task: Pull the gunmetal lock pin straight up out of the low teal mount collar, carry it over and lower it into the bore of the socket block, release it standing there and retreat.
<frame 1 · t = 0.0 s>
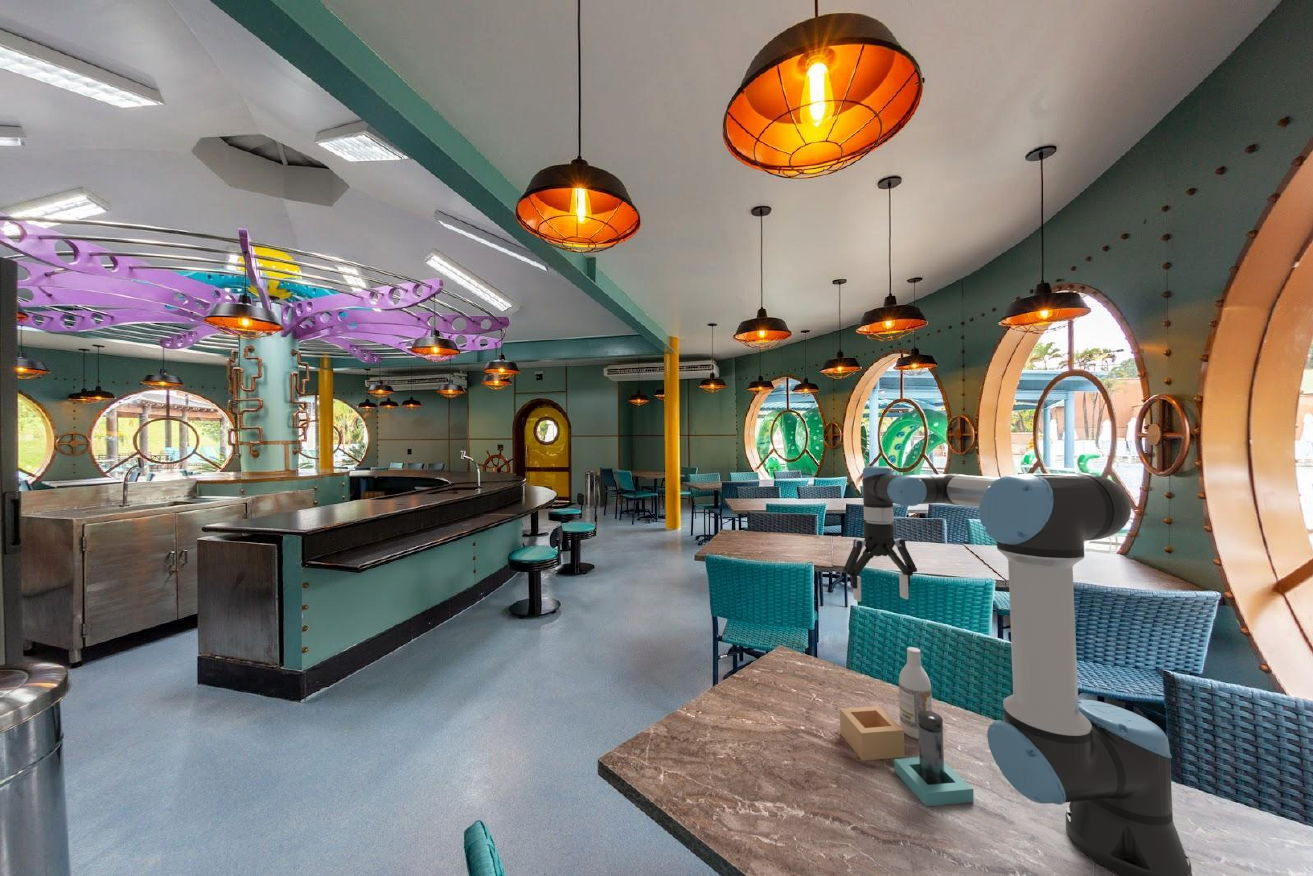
hand: (880, 599, 128), 28 cm above the table, fingers open, 13 cm apart
body lotion: (916, 732, 113), on the table
mount: (932, 785, 95), on the table
socket: (871, 745, 109), on the table
pin: (931, 751, 95), in the mount
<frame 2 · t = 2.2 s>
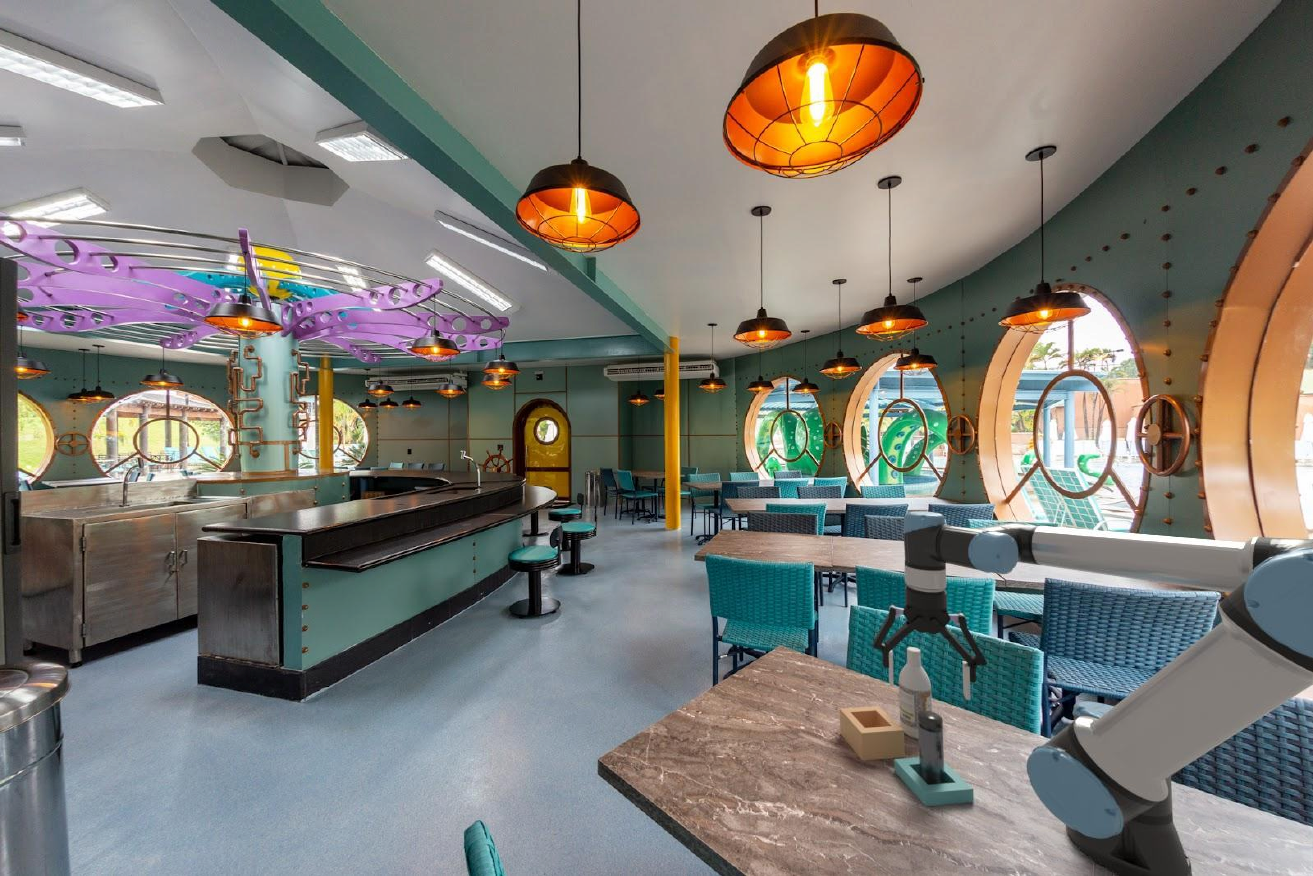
hand: (927, 690, 96), 19 cm above the table, fingers open, 13 cm apart
nothing on the table moved.
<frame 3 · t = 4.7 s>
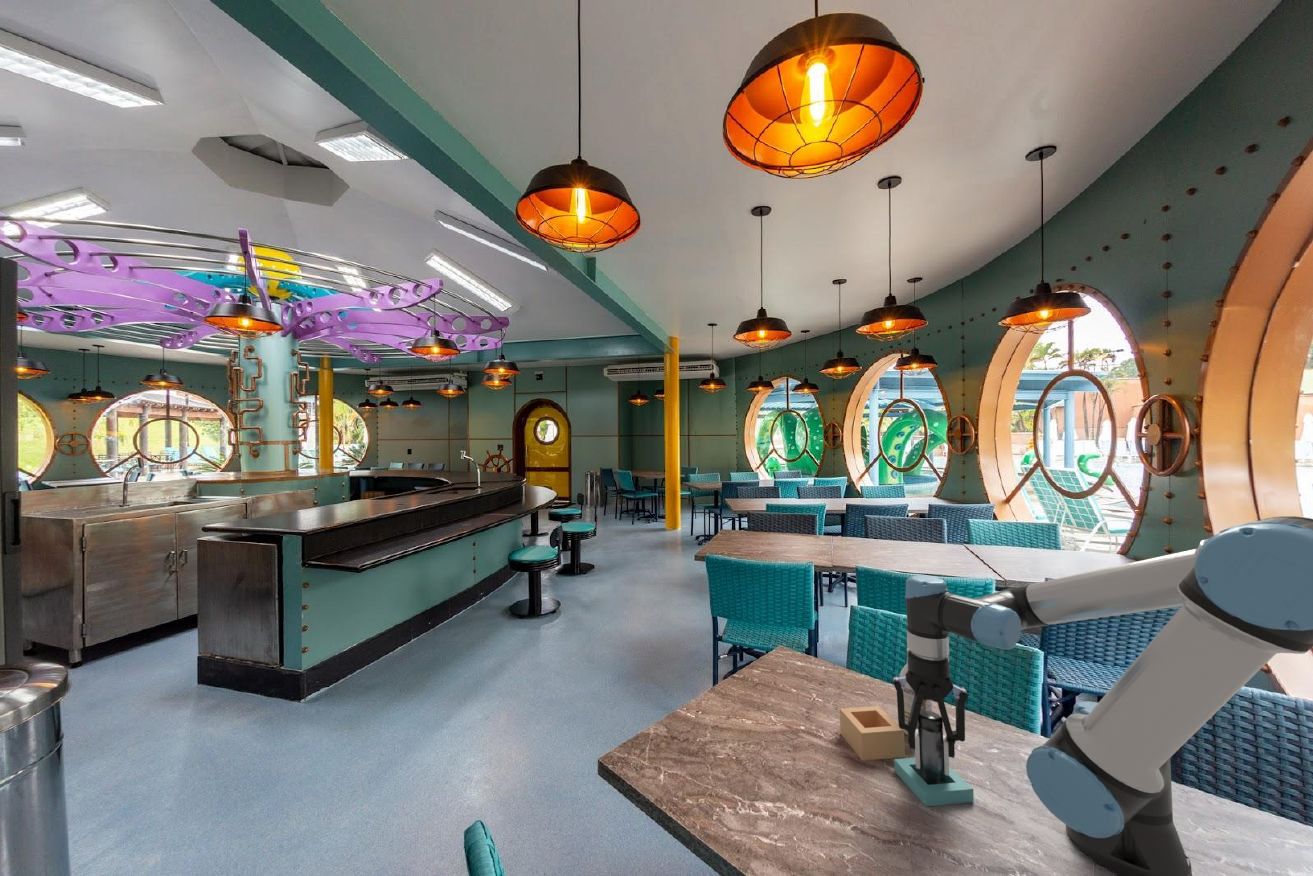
hand: (931, 767, 95), 4 cm above the table, fingers closed on pin, 4 cm apart
pin: (931, 751, 95), in the mount, touching gripper
everything else where it was.
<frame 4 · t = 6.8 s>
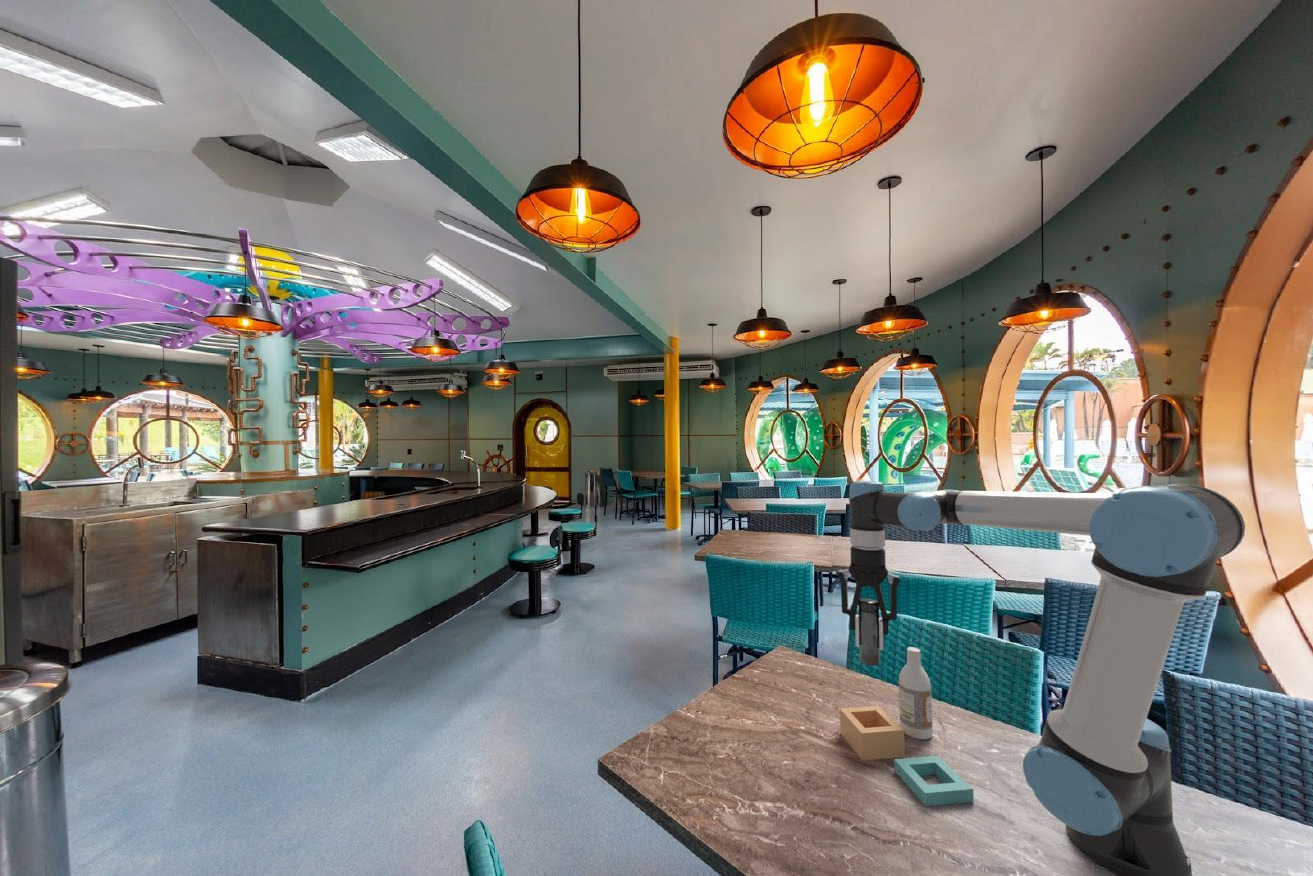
hand: (869, 645, 109), 23 cm above the table, fingers closed on pin, 4 cm apart
pin: (869, 631, 109), point 26 cm above the table, touching gripper
everything else where it was.
when the fingers open (7 cm above the table, at t = 9.1 s): pin drops 2 cm, resting on socket.
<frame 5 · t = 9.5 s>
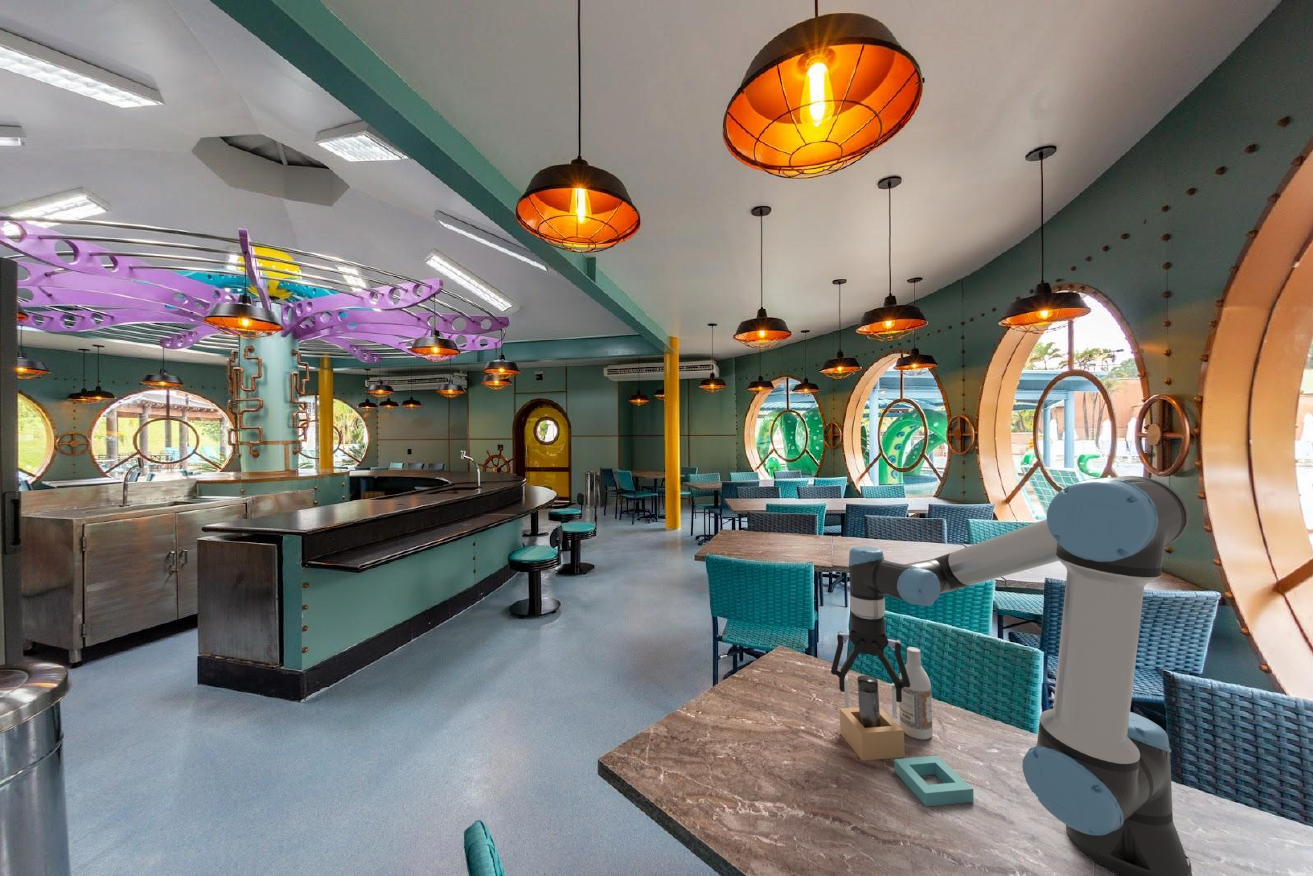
hand: (870, 709, 109), 8 cm above the table, fingers open, 9 cm apart
pin: (869, 709, 109), in the socket, point 8 cm above the table
everything else where it was.
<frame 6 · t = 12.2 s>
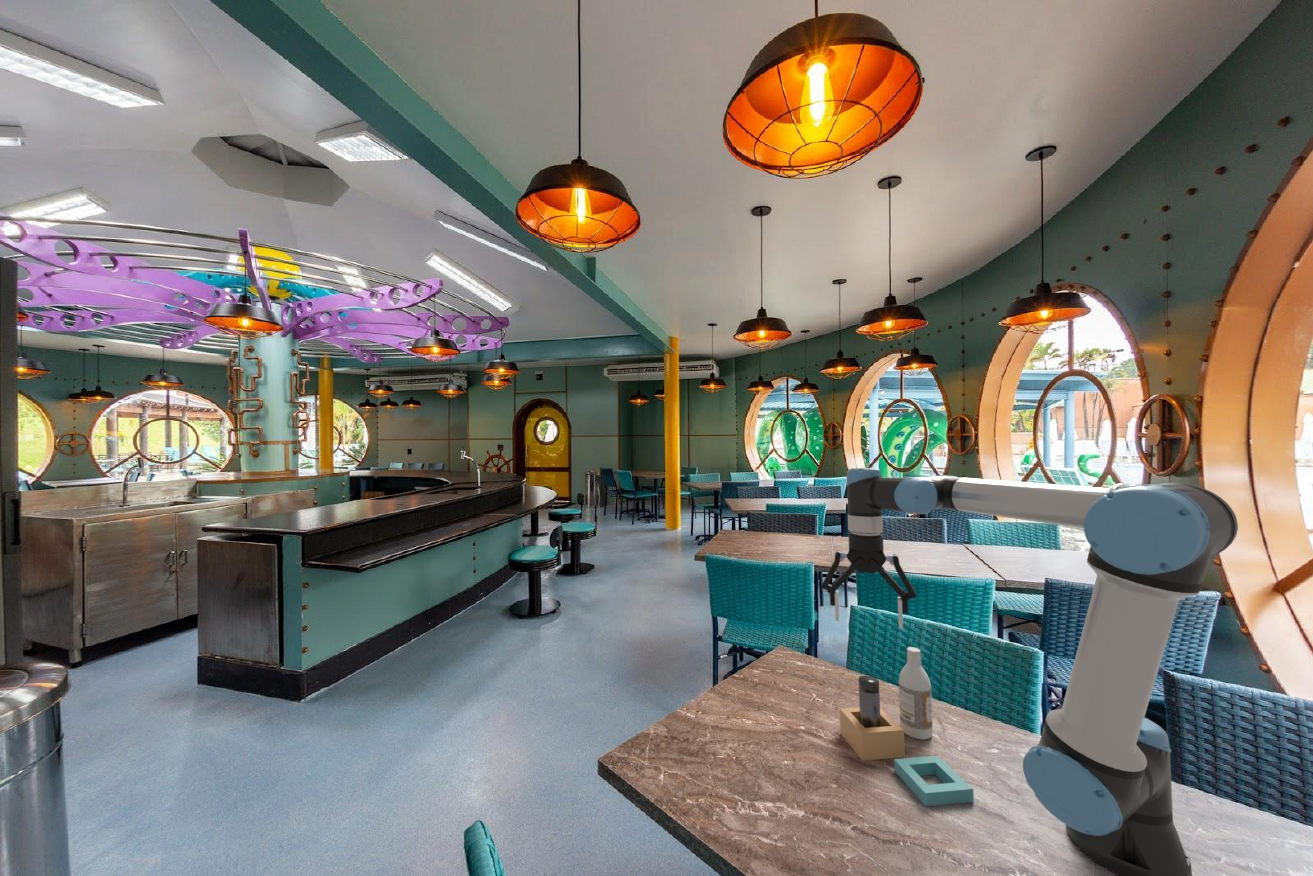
hand: (868, 623, 109), 28 cm above the table, fingers open, 13 cm apart
nothing on the table moved.
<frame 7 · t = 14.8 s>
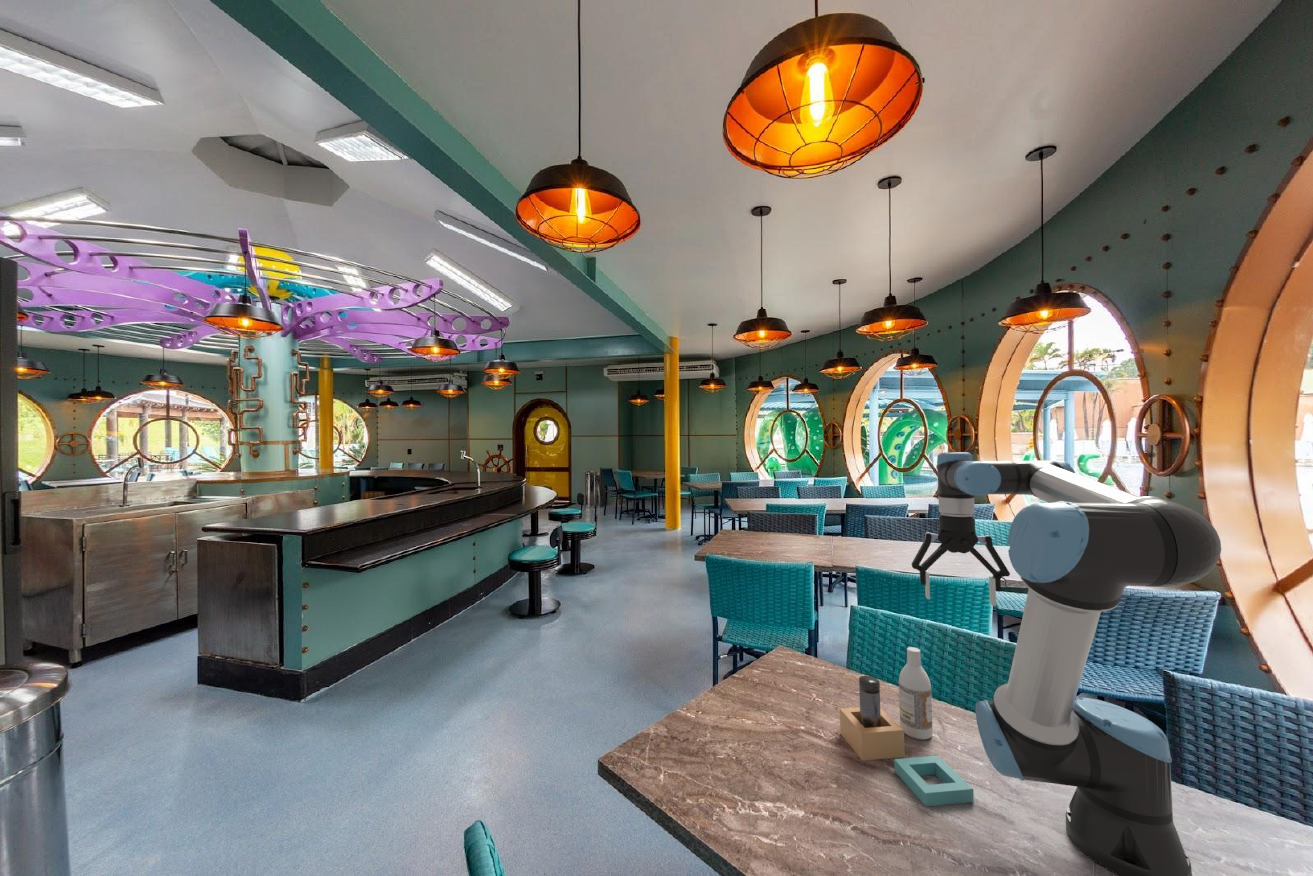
hand: (959, 601, 114), 32 cm above the table, fingers open, 13 cm apart
nothing on the table moved.
at the end: pin 0.1 cm off-centre on the socket, point 8.0 cm above the socket's base; pin tilted 1°; the gripper is holding nothing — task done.
